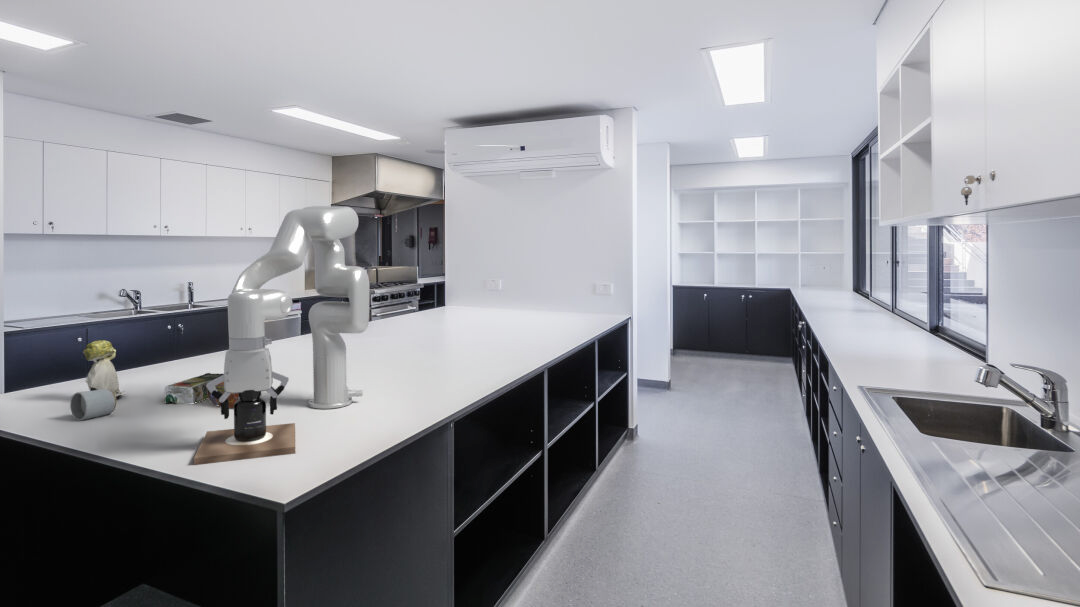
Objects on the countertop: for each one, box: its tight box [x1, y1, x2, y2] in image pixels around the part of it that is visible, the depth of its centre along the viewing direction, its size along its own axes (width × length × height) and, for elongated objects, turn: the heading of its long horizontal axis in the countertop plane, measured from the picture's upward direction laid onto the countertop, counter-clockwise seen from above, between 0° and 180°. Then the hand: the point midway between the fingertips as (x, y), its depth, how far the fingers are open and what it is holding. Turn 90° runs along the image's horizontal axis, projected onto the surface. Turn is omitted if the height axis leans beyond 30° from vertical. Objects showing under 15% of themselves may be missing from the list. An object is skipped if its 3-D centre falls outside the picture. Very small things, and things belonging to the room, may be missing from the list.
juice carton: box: [164, 372, 224, 404], centre depth 178 cm, size 10×20×6 cm, turn 175°
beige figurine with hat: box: [82, 339, 128, 398], centre depth 172 cm, size 12×13×18 cm
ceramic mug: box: [69, 389, 118, 421], centre depth 155 cm, size 11×8×8 cm
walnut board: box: [193, 422, 296, 466], centre depth 133 cm, size 20×20×2 cm
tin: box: [208, 379, 240, 409], centre depth 167 cm, size 15×3×8 cm, turn 68°
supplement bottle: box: [233, 390, 267, 442], centre depth 133 cm, size 7×7×12 cm
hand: (249, 415), depth 133 cm, fingers open, 9 cm apart
